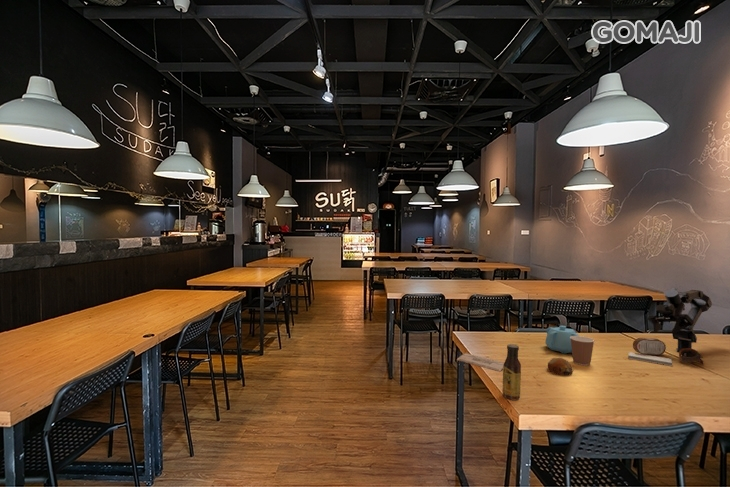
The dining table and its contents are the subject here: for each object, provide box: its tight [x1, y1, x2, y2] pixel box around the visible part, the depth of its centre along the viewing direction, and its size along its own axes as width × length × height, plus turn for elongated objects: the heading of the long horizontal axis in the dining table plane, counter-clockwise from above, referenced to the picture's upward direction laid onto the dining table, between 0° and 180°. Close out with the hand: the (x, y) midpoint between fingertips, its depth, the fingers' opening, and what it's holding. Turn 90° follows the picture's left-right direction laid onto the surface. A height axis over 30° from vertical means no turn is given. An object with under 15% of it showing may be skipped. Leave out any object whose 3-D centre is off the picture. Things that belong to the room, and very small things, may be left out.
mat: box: [627, 351, 673, 367], centre depth 177 cm, size 12×17×1 cm
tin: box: [632, 337, 667, 356], centre depth 184 cm, size 15×3×8 cm, turn 84°
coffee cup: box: [570, 335, 595, 366], centre depth 170 cm, size 10×10×12 cm
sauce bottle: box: [502, 343, 522, 401], centre depth 132 cm, size 7×6×20 cm
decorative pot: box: [544, 325, 580, 355], centre depth 190 cm, size 16×16×14 cm
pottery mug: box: [678, 348, 705, 366], centre depth 172 cm, size 12×10×8 cm
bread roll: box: [547, 357, 574, 376], centre depth 159 cm, size 10×10×8 cm
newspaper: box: [456, 352, 504, 372], centre depth 170 cm, size 23×12×2 cm, turn 47°
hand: (663, 332), depth 179 cm, fingers open, 9 cm apart
